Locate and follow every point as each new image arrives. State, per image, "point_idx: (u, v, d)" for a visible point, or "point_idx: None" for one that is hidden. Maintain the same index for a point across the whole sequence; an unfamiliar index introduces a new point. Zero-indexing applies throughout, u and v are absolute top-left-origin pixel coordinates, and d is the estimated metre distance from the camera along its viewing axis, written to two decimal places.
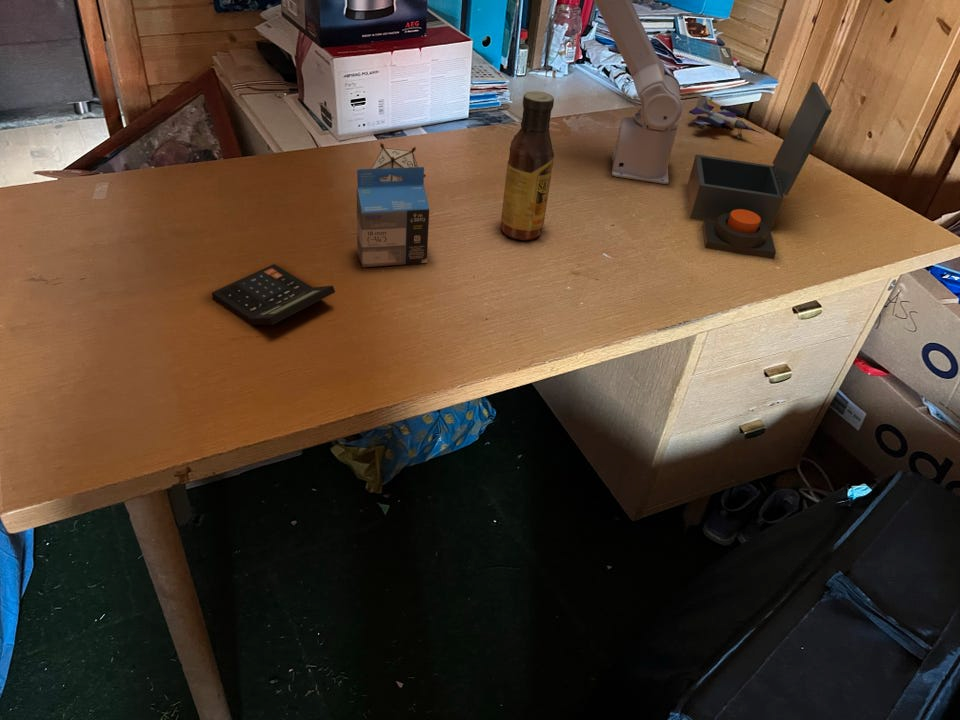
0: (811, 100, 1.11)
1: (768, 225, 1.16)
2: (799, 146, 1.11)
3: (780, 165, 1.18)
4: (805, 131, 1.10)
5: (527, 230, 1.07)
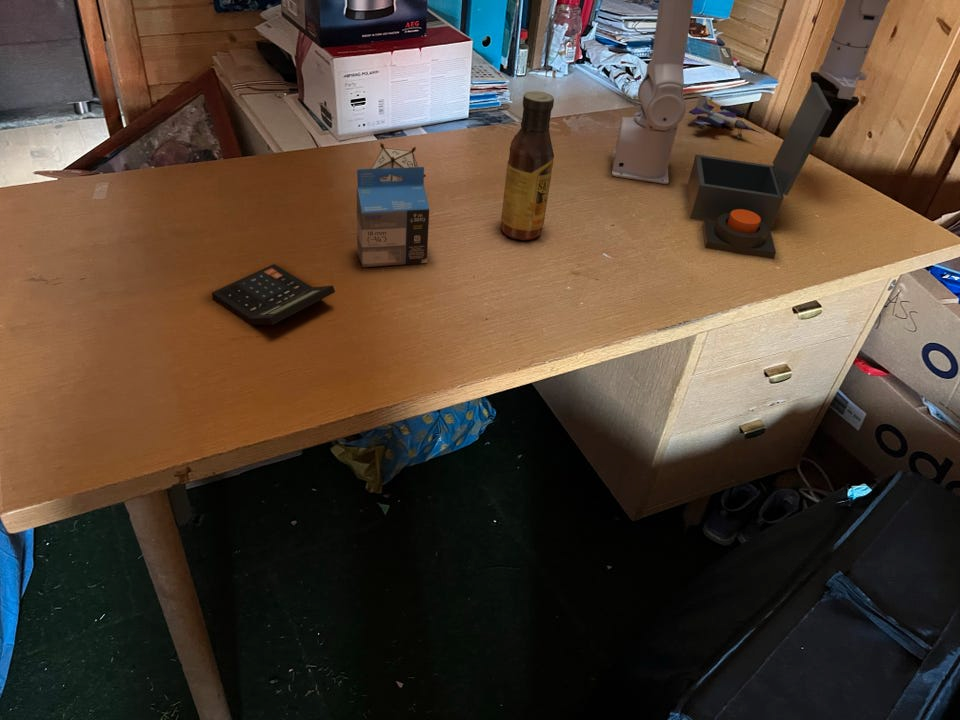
0: (811, 100, 1.11)
1: (768, 225, 1.16)
2: (799, 146, 1.11)
3: (780, 165, 1.18)
4: (805, 131, 1.10)
5: (527, 230, 1.07)
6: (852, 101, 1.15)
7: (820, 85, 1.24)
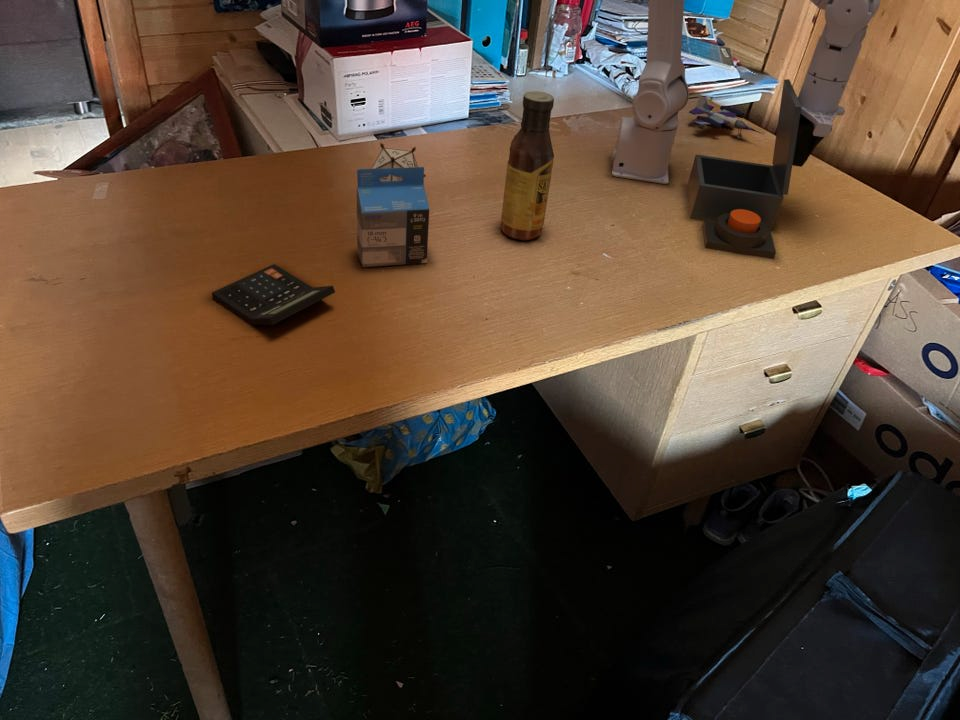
0: (785, 98, 1.12)
1: (768, 225, 1.16)
2: (785, 145, 1.11)
3: (777, 165, 1.18)
4: (786, 130, 1.11)
5: (527, 230, 1.07)
6: None
7: None
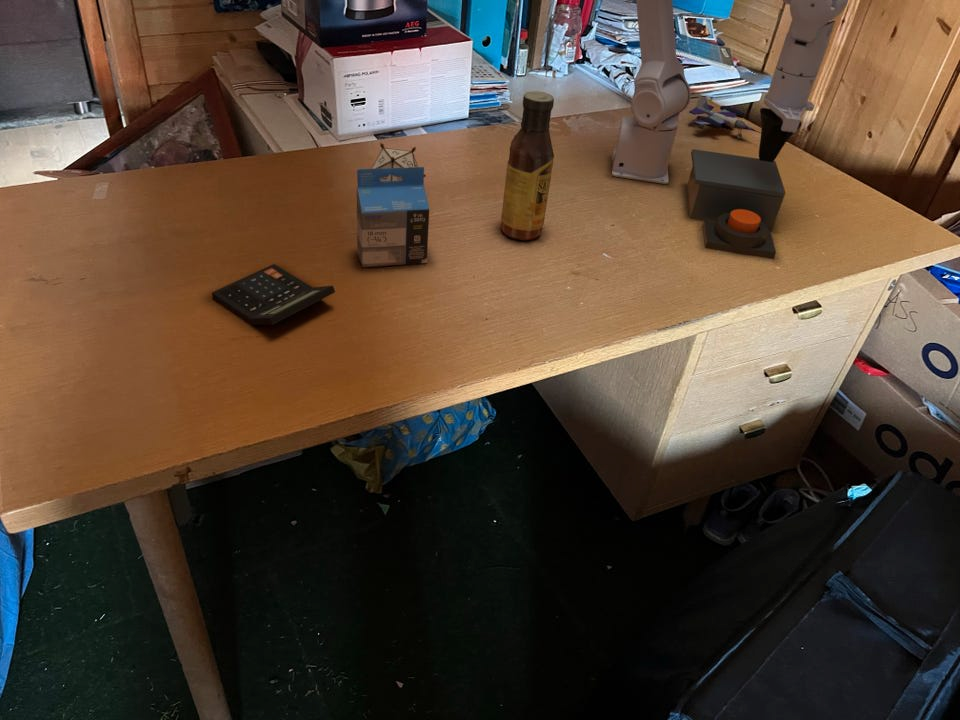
0: None
1: (768, 225, 1.16)
2: None
3: None
4: None
5: (527, 230, 1.07)
6: None
7: None
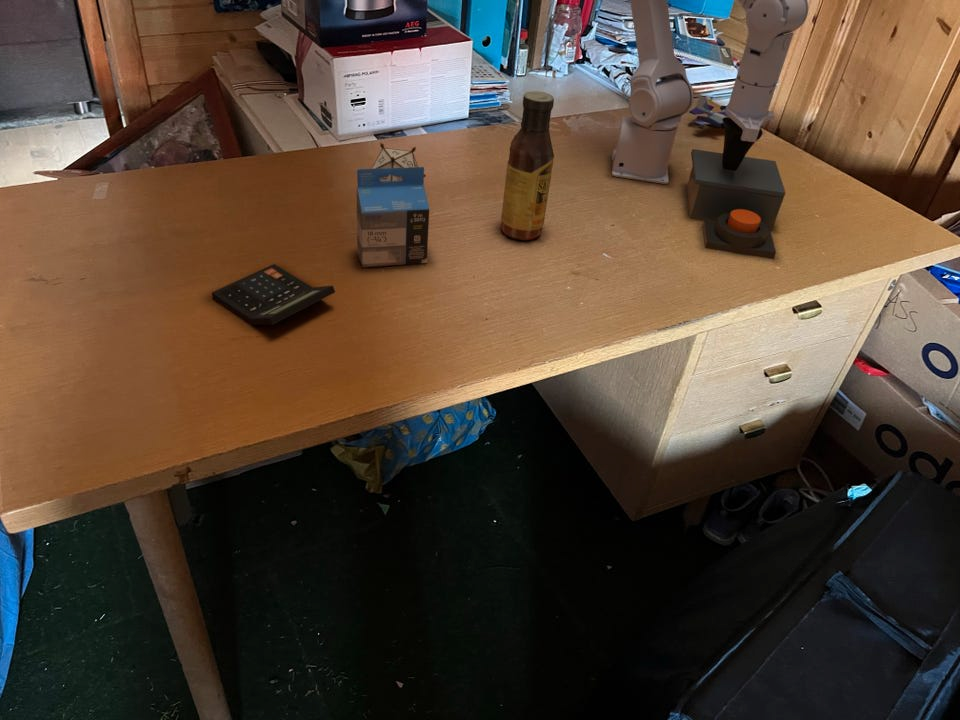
0: None
1: (768, 225, 1.16)
2: None
3: None
4: None
5: (527, 230, 1.07)
6: None
7: None
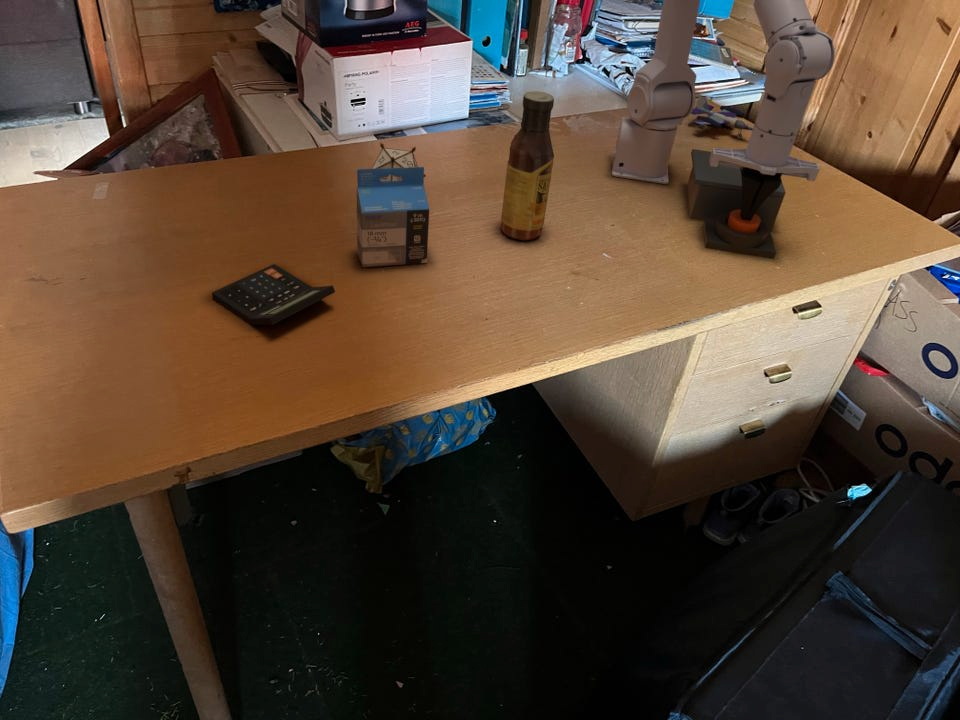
0: None
1: (768, 225, 1.16)
2: None
3: None
4: None
5: (527, 230, 1.07)
6: (742, 176, 1.05)
7: None
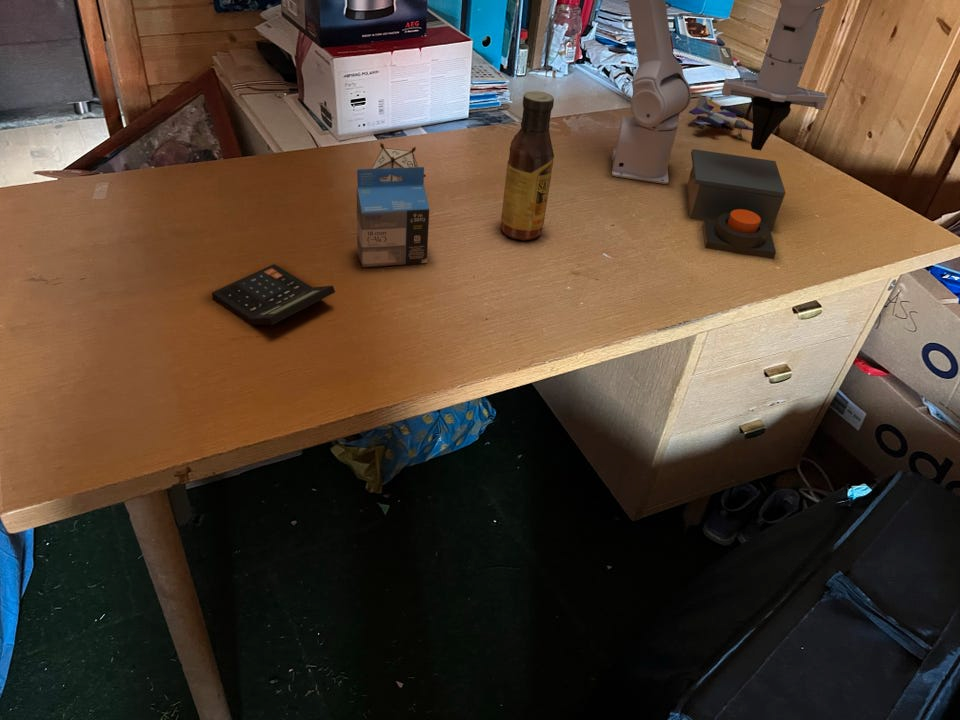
0: None
1: (768, 225, 1.16)
2: None
3: None
4: None
5: (527, 230, 1.07)
6: (753, 105, 1.10)
7: None
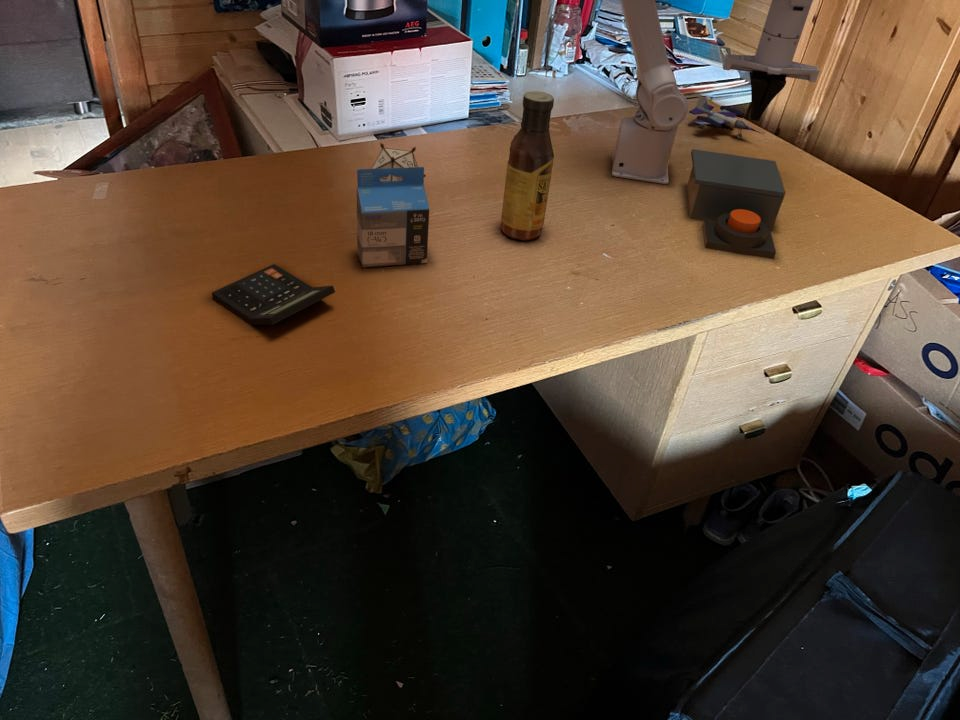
0: None
1: (768, 225, 1.16)
2: None
3: None
4: None
5: (527, 230, 1.07)
6: (752, 78, 1.20)
7: None
